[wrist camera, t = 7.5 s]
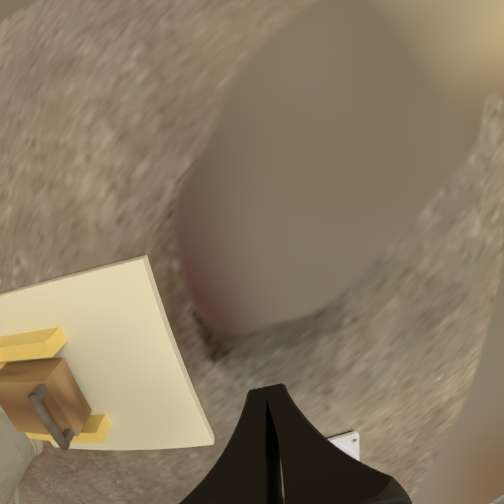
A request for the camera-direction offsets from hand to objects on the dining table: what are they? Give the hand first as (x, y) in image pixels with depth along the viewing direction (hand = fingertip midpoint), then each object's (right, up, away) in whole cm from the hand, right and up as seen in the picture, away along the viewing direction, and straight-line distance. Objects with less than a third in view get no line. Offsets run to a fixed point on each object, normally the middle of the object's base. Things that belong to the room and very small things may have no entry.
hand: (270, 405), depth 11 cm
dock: (-14, -4, +10) cm, 18 cm away
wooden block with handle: (-17, -5, +10) cm, 20 cm away
